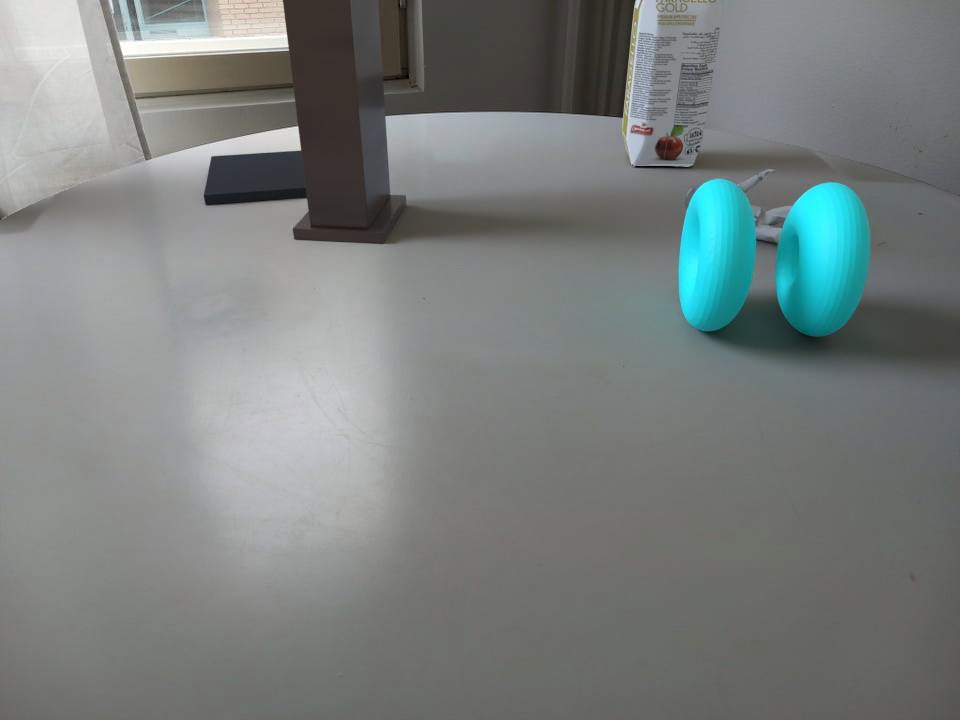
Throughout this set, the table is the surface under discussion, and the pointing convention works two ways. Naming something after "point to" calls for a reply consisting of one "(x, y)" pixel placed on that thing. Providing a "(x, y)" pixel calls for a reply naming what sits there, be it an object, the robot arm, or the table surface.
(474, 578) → the table surface
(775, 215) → the soldier figure
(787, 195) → the table surface
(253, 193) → the mat
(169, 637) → the table surface
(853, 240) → the donuts
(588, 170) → the table surface
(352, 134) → the plinth
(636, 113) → the juice carton
